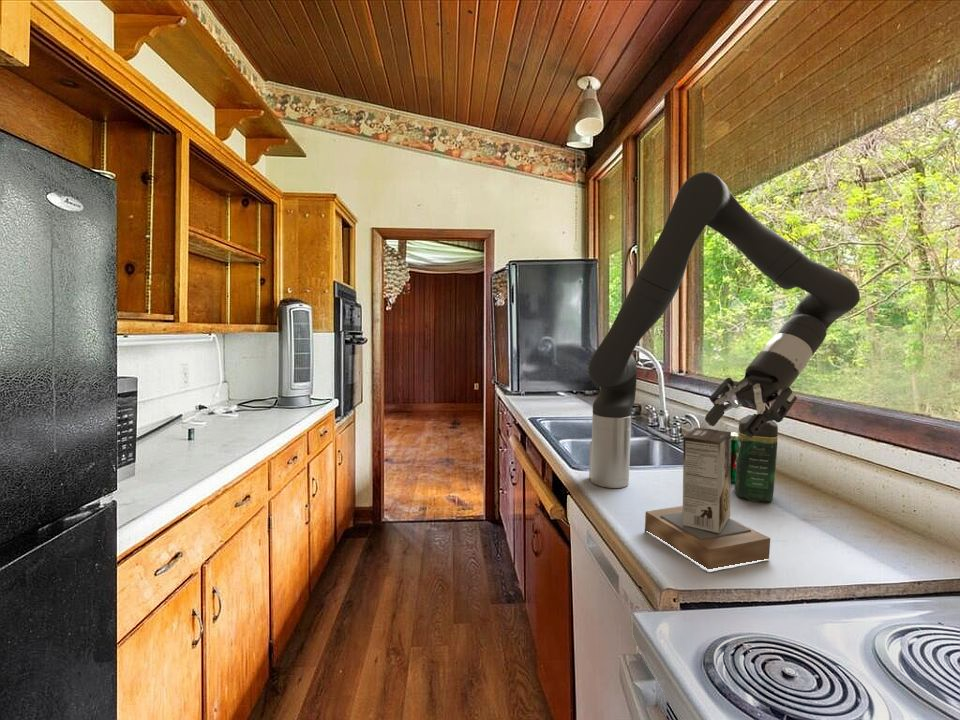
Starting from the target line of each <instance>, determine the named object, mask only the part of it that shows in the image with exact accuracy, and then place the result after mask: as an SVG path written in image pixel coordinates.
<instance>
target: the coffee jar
mask: <svg viewBox="0 0 960 720" xmlns="http://www.w3.org/2000/svg"><path fill="white" fill-rule="evenodd" d="M753 415H754V414H748V415H746V416H744V417H742V418H740V419H739V421H738V423H739V424H738V432H737V433H738V447H737V462H736V476H735V483H734V492H735V494H736V495H737V496H738V497H740V498H743V499H745V500H749V501H752V502H757V503H758V502H759V503H760V502H771V501H772V500H773V498H774V490H775V480H776V479H775V478H776V468H777V454H778V440H779V439H778V437H779V436H778V435H779V430H778V429H779V427H778V424H777V422H775V420H774V421H770V422H768V423H765V424H764V426H763V427H762V428H761V429H760V431H759V432H758V433H757V434H756V435H754V436H753V437H748V436H746V434H745V433H744V432H743V427H744V426H745V425H746V423H747V422H748V421H749V420H750V418H751V417H752V416H753Z"/></svg>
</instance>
